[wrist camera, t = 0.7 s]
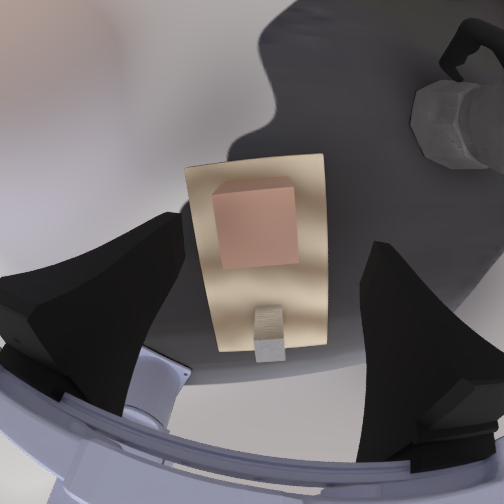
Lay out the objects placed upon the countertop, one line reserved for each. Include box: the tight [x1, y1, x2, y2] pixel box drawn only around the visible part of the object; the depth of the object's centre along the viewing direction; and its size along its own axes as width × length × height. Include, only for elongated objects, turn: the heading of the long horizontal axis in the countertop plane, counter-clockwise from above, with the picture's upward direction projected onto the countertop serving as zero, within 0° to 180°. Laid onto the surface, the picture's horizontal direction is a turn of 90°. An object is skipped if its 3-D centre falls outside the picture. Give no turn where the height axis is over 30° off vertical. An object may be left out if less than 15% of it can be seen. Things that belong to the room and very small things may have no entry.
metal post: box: [253, 304, 285, 362], centre depth 27 cm, size 3×3×6 cm
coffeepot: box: [410, 18, 504, 175], centre depth 14 cm, size 15×9×18 cm, turn 55°
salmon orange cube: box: [211, 176, 299, 270], centre depth 23 cm, size 6×6×6 cm
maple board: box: [184, 153, 328, 352], centre depth 28 cm, size 20×12×1 cm, turn 6°
